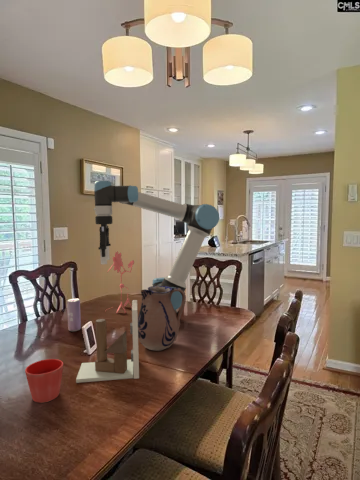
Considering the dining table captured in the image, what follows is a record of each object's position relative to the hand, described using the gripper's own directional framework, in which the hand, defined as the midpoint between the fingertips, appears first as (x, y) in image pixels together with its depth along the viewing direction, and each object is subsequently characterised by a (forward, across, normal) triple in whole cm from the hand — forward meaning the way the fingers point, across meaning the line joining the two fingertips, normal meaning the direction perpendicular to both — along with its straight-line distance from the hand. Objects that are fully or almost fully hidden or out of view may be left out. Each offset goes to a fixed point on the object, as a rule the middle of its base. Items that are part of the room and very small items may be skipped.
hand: (105, 262), depth 147 cm
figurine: (+35, -40, +3) cm, 53 cm away
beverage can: (+35, -11, -17) cm, 40 cm away
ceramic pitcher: (+35, +16, +24) cm, 45 cm away
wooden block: (+34, +37, +4) cm, 50 cm away
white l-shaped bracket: (+35, +36, +4) cm, 50 cm away
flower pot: (+35, +48, -15) cm, 61 cm away
